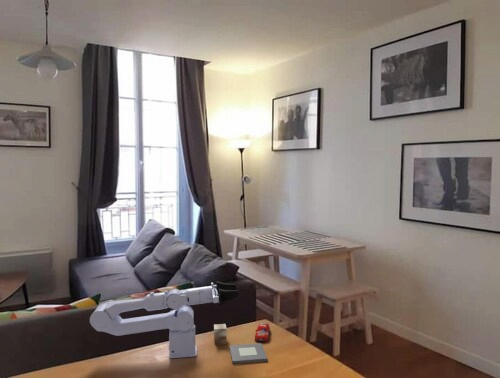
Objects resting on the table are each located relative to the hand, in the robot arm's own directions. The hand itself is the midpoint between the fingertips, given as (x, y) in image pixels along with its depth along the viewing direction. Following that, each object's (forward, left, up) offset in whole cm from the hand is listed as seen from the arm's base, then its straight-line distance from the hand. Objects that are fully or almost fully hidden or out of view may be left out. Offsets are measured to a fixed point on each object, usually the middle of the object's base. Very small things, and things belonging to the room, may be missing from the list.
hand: (237, 290), depth 142 cm
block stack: (-6, +7, -22) cm, 24 cm away
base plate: (+3, -5, -22) cm, 22 cm away
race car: (+11, +10, -22) cm, 27 cm away
